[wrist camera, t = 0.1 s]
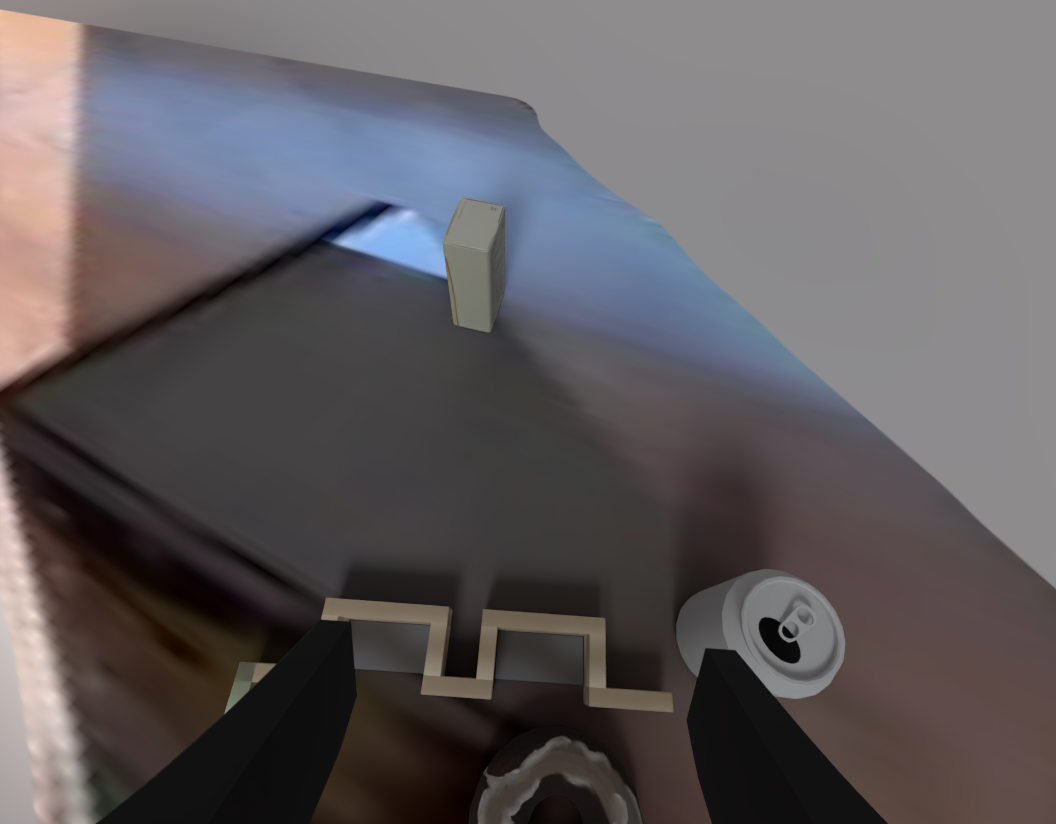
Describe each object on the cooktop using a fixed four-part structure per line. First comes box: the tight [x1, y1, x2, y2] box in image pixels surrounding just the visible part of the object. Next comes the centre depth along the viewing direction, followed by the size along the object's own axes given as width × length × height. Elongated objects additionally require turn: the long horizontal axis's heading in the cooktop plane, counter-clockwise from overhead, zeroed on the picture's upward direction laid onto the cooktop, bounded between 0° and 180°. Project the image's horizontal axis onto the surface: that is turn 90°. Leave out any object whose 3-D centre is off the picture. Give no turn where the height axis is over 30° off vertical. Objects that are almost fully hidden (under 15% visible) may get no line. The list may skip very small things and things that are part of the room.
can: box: [676, 569, 845, 699], centre depth 35 cm, size 8×8×12 cm
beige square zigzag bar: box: [225, 598, 673, 713], centre depth 34 cm, size 22×31×3 cm
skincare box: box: [443, 197, 505, 332], centre depth 49 cm, size 6×4×12 cm
